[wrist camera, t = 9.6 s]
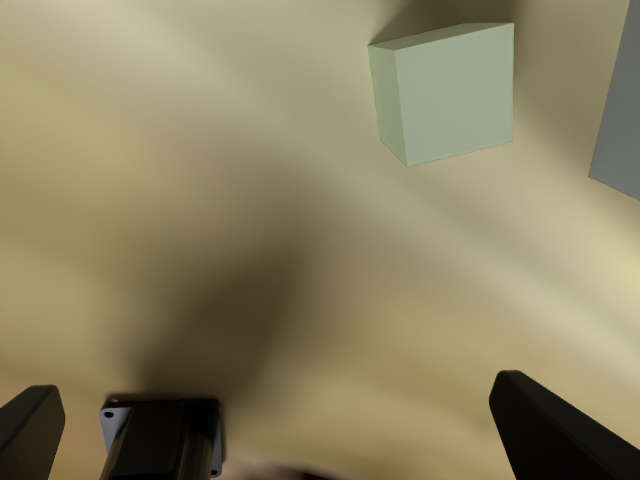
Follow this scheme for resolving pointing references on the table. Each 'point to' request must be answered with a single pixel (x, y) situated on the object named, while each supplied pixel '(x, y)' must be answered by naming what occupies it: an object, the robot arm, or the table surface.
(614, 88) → the base block
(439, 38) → the sage block
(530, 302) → the table surface
